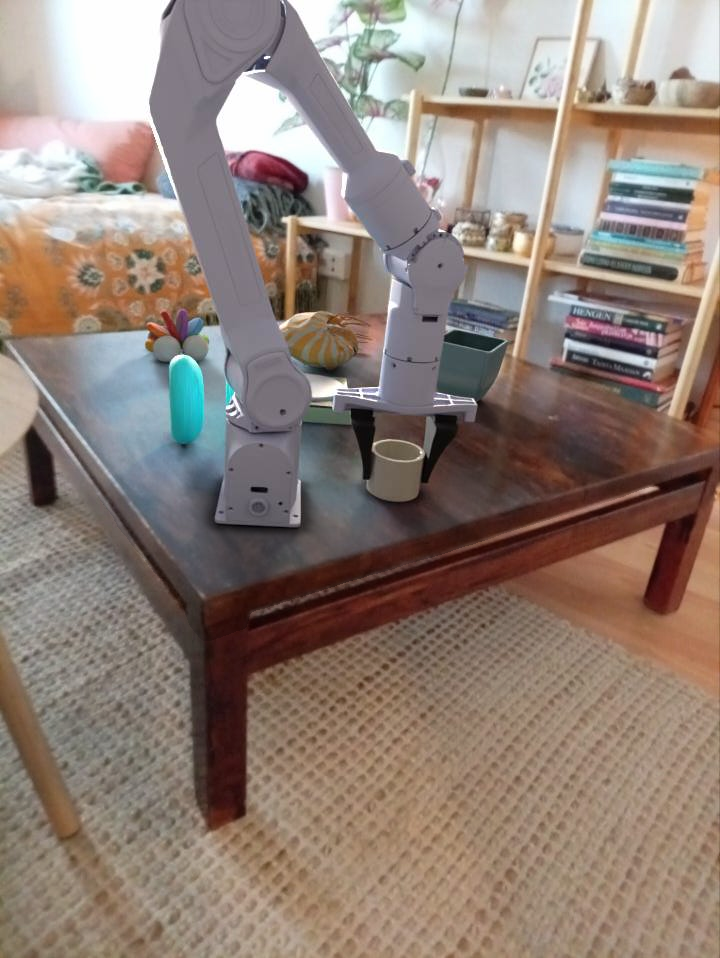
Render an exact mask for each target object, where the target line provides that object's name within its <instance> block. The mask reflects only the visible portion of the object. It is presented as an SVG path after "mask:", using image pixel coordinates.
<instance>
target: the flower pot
mask: <svg viewBox="0 0 720 958" xmlns="http://www.w3.org/2000/svg"><path fill="white" fill-rule="evenodd" d="M508 344H509V340H508V339H504V338H500V337H496V336H491V335H485V334H482V333H481V334H480V333H476V332H471V331H466V330H461V329H456V328H453V329H451V330H449V331H446V332H445V335H444V341H443V348H442V354H441V359H440V366H439V372H438V378H437V385H436V390H437V393H442V394H447V395H452V396H458V397H465V398H473V399H474V400H475V402H476V403H478V402H479V401H480V400H481V399H482V398H484V397H485V395H487V393H488V392H489V391H490V389H491V388H492V386H493V385H494V384H495V382H496V379H497V378H498V375H499V373H500V370H501V368H502V365H503V361H504V357H505V356H506V351H507V349H508Z"/></svg>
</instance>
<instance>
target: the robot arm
mask: <svg viewBox="0 0 720 958" xmlns="http://www.w3.org/2000/svg"><path fill="white" fill-rule="evenodd" d="M242 75H243V76H246V77H248V78H250V79H252V80H254V81H257V82H260V83H262V84H264V85H266V86H268V87H271V88H274V89H275V90H278V91H280V92H281V93H282V94H283V95H284V96H285V98H286V99H287V100H288V102H289V103H290V104H291V106H292V107H293V108H294V109H295V111H296V112H297V114H298V115H299V116H300V117H301V118H302V120H303V121H304V123H305V124H306V125H307V127H308V128H309V130H310V131H311V132H312V134H313V135H314V136H315V137H316V139H317V140H318V141H319V143H320V144H321V145H322V147H323V148H324V149H325V150H326V152H327V153H328V154H329V156H330V158H332V160H333V161H334V162H335V163H336V165H337V166H338V167H339V169H340V171H342V184H341V185H342V186H341V187H342V188H341V196H342V199H343V200H344V202H345V203H346V205H347V206H348V207H349V208H350V210H351V212H352V213H353V214H354V216H355V217H356V218H357V220H358V221H359V222H360V224H361V225H362V227H363V228H364V230H365V231H366V232H367V234H368V235H369V236H370V238H371V239H372V241H373V242H374V243H375V245H376V246H377V248H378V249H379V250H380V252H381V253H382V254H383V255H382V259H383V265H384V269H385V271H386V272H387V273H389V274H391V275H392V279H391V288H390V295H389V302H388V309H387V318H386V325H385V334H384V341H383V352H382V358H381V365H380V367H381V368H380V376H379V383H378V386H377V387H356V388H355V387H354V388H348V389H340V388H335V389H334V398H333V411H334V413H344V411H349V414H350V420H351V427H352V430H353V433H354V436H355V439H356V441H357V445H358V449H359V453H360V454H359V455H360V465H361V467H360V473H361V479H362V480H364V481H367V480H369V478H370V471H371V452H372V446H373V444H374V439H375V434H376V430H377V427H376V423H375V421H376V417H375V414H383V415H396V416H397V415H398V416H410V417H411V416H413V417H426V418H425V429H424V430H425V432H424V442H423V447H422V449H423V450H424V452H425V460H424V467H423V473H422V479H421V484H428V483H429V481H430V477H431V475H432V473H433V471H434V468H435V466H436V465H437V463H438V462H439V459H440V457H441V456H442V454H443V453H444V451H446V448H447V447H448V446H449V445H450V444H451V442H452V441H453V440H454V439H455V438H456V437H457V435H458V432H459V425H458V423H457V422H458V420H463V422H467V423H475V420H476V415H477V411H478V402H475V400H474V399H473V398H465V397H458V396H452V395H447V394H442V393H439V392H436V390H437V388H436V385H437V378H438V372H439V366H440V359H441V354H442V348H443V341H444V335H445V333H446V328H447V322H448V317H449V316H448V315H449V310H450V308H451V302H452V298H453V296H454V293H455V292H456V291H457V290H458V289H459V288H460V287H461V286H462V284H463V282H464V281H465V279H466V277H467V274H468V271H469V265H468V264H466V263H465V259H464V256H465V252H464V249H463V245H462V244H461V242H460V240H459V239H458V238H457V237H456V236H455V235H453V234H452V233H450V232H447V231H444V230H442V229H441V228H440V227H441V223H440V221H442V219H443V216H442V214H441V212H440V211H439V209H438V208H435V207H431V206H430V204H429V203H428V201H427V199H426V198H425V197H424V195H423V193H422V192H421V190H420V189H419V187H418V186H417V184H416V182H415V181H414V179H413V178H412V177H413V176H414V175H416V172H417V170H416V169H415V167H414V165H413V164H412V162H411V160H410V159H404V158H401V159H400V157H399V155H398V154H397V153H396V152H394V151H389V150H381V149H376V147H375V145H374V144H373V142H372V141H371V139H370V137H369V135H368V134H367V132H366V131H365V129H364V126H363V125H362V123H361V121H360V120H359V119H358V116H357V115H356V113H355V111H354V110H353V107H351V105H350V103H349V101H348V99H347V98H346V96H345V94H344V93H343V91H342V89H341V88H340V86H339V84H338V82H337V81H336V79H335V78H334V76H333V74H332V72H331V70H330V69H329V67H328V66H327V63H326V62H325V60H324V58H323V57H322V55H321V53H320V51H319V50H318V48H317V47H316V45H315V43H314V41H313V39H312V38H311V36H310V34H309V32H308V30H307V28H306V26H305V24H304V23H303V20H302V19H301V16H300V15H299V13H298V11H297V10H296V8H294V6H293V4H292V3H290V1H288V0H170V1H169V2H168V3H167V6H166V7H165V8H164V10H163V12H162V14H161V16H160V24H159V32H158V37H157V42H156V46H155V52H154V57H153V61H152V66H151V71H150V75H149V81H148V86H147V90H146V95H145V107H146V113H147V116H148V121H149V123H150V126H151V129H152V131H153V134H154V137H155V140H156V143H157V145H158V149H159V152H160V154H161V156H162V157H161V158H162V160H163V163H164V166H165V170H166V172H167V174H168V178H169V181H170V183H171V186H172V189H173V192H174V195H175V198H176V202H177V204H178V206H179V209H180V212H181V216H182V218H183V220H184V224H185V227H186V230H187V234H188V235H189V238H190V242H191V245H192V247H193V250H194V253H195V256H196V258H197V261H198V264H199V267H200V270H201V274H202V276H203V279H204V282H205V285H206V288H207V290H208V293H209V296H210V299H211V301H212V304H213V305H212V306H213V308H214V311H215V314H216V316H217V320H218V322H219V328H220V335H221V338H222V343H223V345H224V352H225V354H224V360H223V361H224V362H223V373H224V374H223V375H224V378H225V380H226V382H228V384H229V385H230V387H231V388H232V389H233V390H234V395H233V396H232V398H231V400H230V402H229V403H228V407H226V406H225V435H224V436H225V437H224V439H225V443H224V447H225V448H224V475H223V479H222V481H221V482H222V483H221V487H220V493H219V496H218V501H217V506H216V510H215V515H214V522H215V523H216V524H220V525H237V526H238V525H239V526H240V525H242V526H261V527H276V528H277V527H278V528H279V527H280V528H300V527H301V525H302V523H301V521H302V520H301V519H302V516H301V515H302V512H301V510H302V508H301V505H302V504H301V503H302V500H301V499H302V497H301V495H302V493H301V492H302V489H301V485H302V481H301V479H299V469H300V456H301V441H302V428H303V422H302V418H303V417H304V416H305V414H306V413H307V411H308V409H309V407H310V404H311V400H312V389H311V385H310V382H309V380H308V378H307V377H306V375H305V374H306V373H304V371H302V369H300V367H298V366H297V365H296V363H295V362H294V360H293V357H292V356H291V355H290V352H289V348H288V346H287V343H286V341H285V339H284V337H283V335H282V332H281V330H280V328H279V326H280V325H279V324H278V322H277V320H276V316H275V314H274V311H273V307H272V303H271V301H270V298H269V294H268V291H267V287H266V284H265V280H264V278H263V275H262V271H261V268H260V264H259V261H258V258H257V255H256V250H255V247H254V245H253V241H252V238H251V233H250V231H249V227H248V224H247V221H246V218H245V214H244V211H243V207H242V204H241V201H240V198H239V195H238V191H237V188H236V184H235V181H234V176H233V174H232V171H231V168H230V164H229V160H228V157H227V153H226V151H225V148H224V143H223V142H222V137H221V135H220V131H219V127H218V124H217V120H218V116H219V114H220V113H221V111H222V109H223V107H224V104H226V102H227V100H228V98H229V96H230V94H231V92H232V91H233V88H234V87H235V85H236V82H237V80H238V79H239V78H240V77H241V76H242Z"/></svg>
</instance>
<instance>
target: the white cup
mask: <svg viewBox="0 0 720 958" xmlns="http://www.w3.org/2000/svg"><path fill="white" fill-rule="evenodd" d="M424 460H425V452H424V450H423V447H421V446H419V445H417V444H415V443H413V442H411V441H406V440H402V439H391V438H390V439H381V440H378V441H375V442H373V446H372V452H371V471H370V478H369V480H366V490H367V491H368V492H369V494H371V495H372V496H374V497H376V498H378V499H381V500H384V501H387V502H388V501H389V502H396V503H397V502H399V503H400V502H408V501H412V500H414V499H416V498H417V497H418V496H419V494H420V490H421V485H422V483H421V479H422V473H423V467H424Z"/></svg>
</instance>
